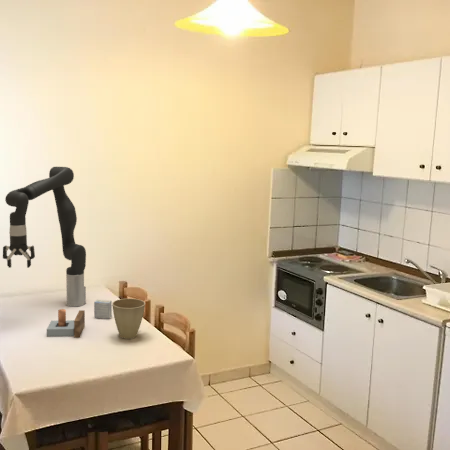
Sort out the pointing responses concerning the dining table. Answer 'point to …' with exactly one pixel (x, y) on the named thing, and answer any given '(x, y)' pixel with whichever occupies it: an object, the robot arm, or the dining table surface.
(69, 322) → the pocket block
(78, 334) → the backstop wall
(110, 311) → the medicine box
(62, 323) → the dowel
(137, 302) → the plant pot
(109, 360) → the dining table surface
